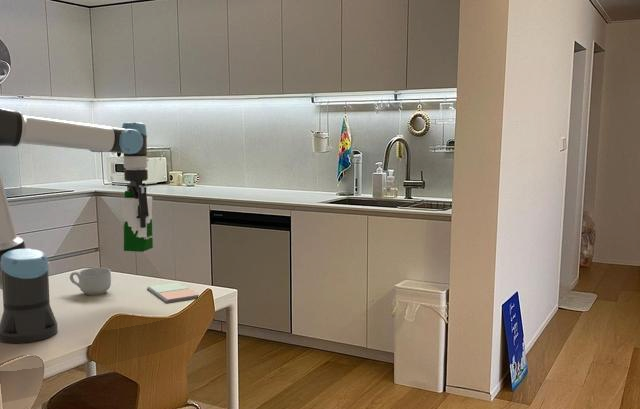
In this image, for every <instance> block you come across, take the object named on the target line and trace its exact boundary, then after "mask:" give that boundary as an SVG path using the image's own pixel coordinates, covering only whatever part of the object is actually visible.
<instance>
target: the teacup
mask: <svg viewBox="0 0 640 409" xmlns="http://www.w3.org/2000/svg"><path fill="white" fill-rule="evenodd" d="M111 272H112V271H111V269H109V268H107V267H90V268H84V269H82V270H80V271H79V272H78V271H73V272H71V273H70V275H69V280H70V282H71V283H72V284H74V285H75V286H77V287H78V288H79V290H80V291H81V292H82V293H83V294H85V295H87V296H99V295H104V294H105V293H106V292H107V291H108V290H110V288H111V285H112V274H111ZM74 275H75V276H77V279H78V281H77V280H75V279H74Z"/></svg>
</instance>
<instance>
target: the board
mask: <svg viewBox="0 0 640 409" xmlns="http://www.w3.org/2000/svg"><path fill="white" fill-rule="evenodd" d="M146 289H147V291H148V292H150V293H151V294H153V295H154V296H155V297H157V298H158V299H160V300H161V301H162V302H164V303H165V304H169V303H176V302H177V303H178V302H182V301H183V302H184V301H190V300H196V299H198V298H197V297H198V296H199V295H200V294H199V293H197V292H195V291H194V290H191V289H190V288H189V287H188V286H185V285H184V284H181V282H172V283H164V284H159V285H158V284H157V285H151V286H148V287H147V288H146ZM195 298H196V299H195Z"/></svg>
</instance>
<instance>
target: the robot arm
mask: <svg viewBox="0 0 640 409" xmlns="http://www.w3.org/2000/svg"><path fill="white" fill-rule="evenodd" d="M146 126H147V125H146V124H145V123H143V122H123V123H122V127H116V126H108V125H107V126H106V125H99V124H92V123H86V122H85V123H84V122H76V121H69V120H68V121H67V120H60V119H51V118H45V117H38V116H37V117H36V116H30V115H29V116H28V115H23V113H22V112H21V111H20V110H14V109H13V110H12V109H8V108H7V109H6V108H1V107H0V147H16V148H17V147H19V146H20V145H21V144H25V145H35V146H45V147H57V148H67V149H68V148H69V149H75V150H77V149H78V150H87V151H90V152H91V153H118V154H123V168H124V172H123V174H124V178H123V179H124V181H125V182H129V183H127V184H126V191H132V192H133V197H134V198H136V199H139V206H138V216H137V217H136V218H138V237H139V238H141V237H147V224H146V218H147V217H148V216H149V214H148V204H147V189H148V188H147V187H146V186H144V185H143V182H145V181H148V179H149V178H148V172H149V171H148V169H146V168H148V162H149V158H148V147H147V146H148V145H147V141H148V140H147V138H148V134H147V127H146ZM12 217H13V215H12V213H11V210H10V205H9V200H8V198H7V193H6V189H5V185H4V182H3V178H2V175H1V173H0V290H1V291H2V304H3V311H2V314H1V318H0V342H3V343H5V344H25V343H27V344H28V343H33V342H38V341H42V340H45V339H48V338H50V337H53V336H55V335H56V334H57V333H58V330H59V328H58V321H57V319H56V316H55V315H54V312H53V310H52V307H51V304H50V287H49V286H50V282H49V277H50V276H49V262H48V257H47V256H48V255H46V253H44V252H43V250H42V251H41V250H38V249H32V248H26V244H25V241H24V238H22V237H20V236H19V235H18V234H17V232H16V228H15V224H14V221H13V218H12Z"/></svg>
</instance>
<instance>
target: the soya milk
mask: <svg viewBox="0 0 640 409" xmlns="http://www.w3.org/2000/svg"><path fill="white" fill-rule="evenodd" d="M120 202H121V206H122V219H123V220H122V223H123V224H122V225H123V252H136V253H137V252H138V253H139V252H141V253H142V252H146V251H149V250H150V249H153V248H154V246H153V245H154V244H153V242H154V241H153V238H154V237H153V213H152V212H153V196H147V204H148V214H149V216H148V217H147V218H146V224H147V237H141V238H139V237H138V218H136V217H137V216H138V206H139V199H136V198H134V197H133V192H132V191H127V190H124V197H123V196H122V197H121V198H120Z"/></svg>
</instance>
